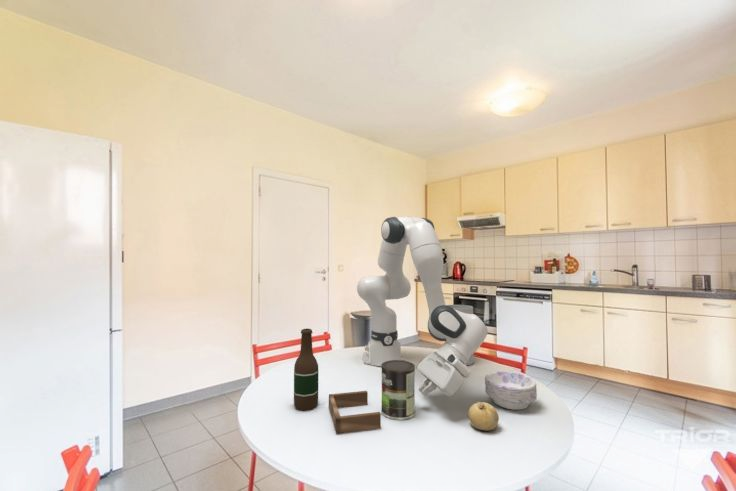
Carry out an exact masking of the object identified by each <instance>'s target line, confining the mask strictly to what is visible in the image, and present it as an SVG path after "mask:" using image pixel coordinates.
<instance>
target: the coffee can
mask: <svg viewBox="0 0 736 491" xmlns="http://www.w3.org/2000/svg"><path fill="white" fill-rule="evenodd" d="M380 367H381V368H380V369H381V410H380V413H381V415H383V416H384V417H385V418H388V419H389V420H390V419H391V420H397V421H404V420H409V419H411V418H413V417H414V416H415V414H416V411H415V410H416V406H415V405H416V404H415V402H416V401H415V400H416V399H415V397H416V396H415V395H416V394H415V393H416V392H415V389H416V388H415V387H416V385H415V382H416V380H415V379H416V378H415V369H416V365H415V364H414V363H413V362H410V361H406V360H404V361H402V360H391V361H386V362H384V363H382V364H381V366H380Z"/></svg>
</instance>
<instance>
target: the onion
mask: <svg viewBox="0 0 736 491" xmlns="http://www.w3.org/2000/svg"><path fill="white" fill-rule="evenodd" d="M467 415H468V420H469V422H470V424H471V426H473V428H475V429H477V430H480V431H492V430H494V429H495V428H496V427H497V425H498V424H499V422H500V418H499V413H498V412H497V410H496V408H495V407H494V406H493V405H492V404H490V403H488V402H482V401H477V402H476V403H473V404H472V405H471V406H470V408H469V409H468V414H467Z"/></svg>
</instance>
